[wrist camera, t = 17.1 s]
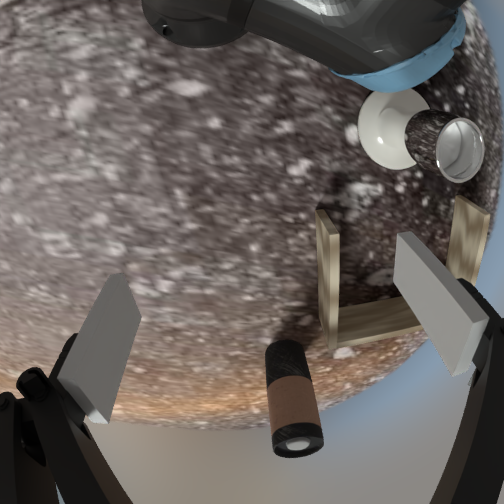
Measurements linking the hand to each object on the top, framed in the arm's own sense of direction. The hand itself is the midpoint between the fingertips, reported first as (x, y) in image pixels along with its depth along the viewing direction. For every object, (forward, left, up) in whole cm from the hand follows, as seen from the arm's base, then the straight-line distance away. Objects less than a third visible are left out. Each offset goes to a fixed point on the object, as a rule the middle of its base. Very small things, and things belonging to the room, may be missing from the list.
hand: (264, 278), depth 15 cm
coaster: (-2, +21, -29) cm, 35 cm away
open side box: (+18, +21, -29) cm, 40 cm away
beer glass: (-2, +20, -28) cm, 35 cm away
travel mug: (+36, +2, -29) cm, 46 cm away
